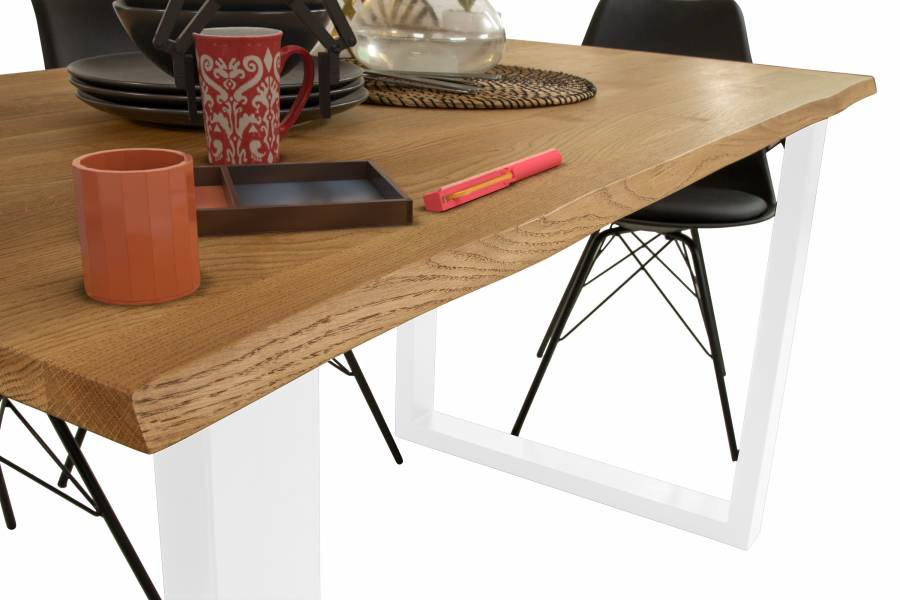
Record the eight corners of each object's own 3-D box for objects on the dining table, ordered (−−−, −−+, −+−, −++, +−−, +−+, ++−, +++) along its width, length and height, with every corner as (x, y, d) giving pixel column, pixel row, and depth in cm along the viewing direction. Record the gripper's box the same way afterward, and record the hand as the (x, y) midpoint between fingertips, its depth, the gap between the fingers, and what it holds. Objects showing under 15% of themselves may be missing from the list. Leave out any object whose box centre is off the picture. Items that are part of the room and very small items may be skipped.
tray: (95, 247, 77) (92, 215, 76) (101, 196, 91) (99, 169, 90) (412, 229, 84) (413, 199, 83) (372, 184, 98) (372, 159, 97)
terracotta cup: (83, 314, 64) (68, 174, 60) (88, 277, 70) (75, 149, 67) (203, 305, 66) (195, 169, 63) (197, 270, 72) (189, 146, 69)
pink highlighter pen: (410, 219, 89) (453, 211, 87) (404, 196, 89) (447, 187, 86) (536, 172, 108) (574, 164, 106) (531, 152, 108) (569, 144, 105)
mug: (214, 176, 100) (206, 36, 95) (188, 158, 107) (180, 27, 102) (332, 165, 106) (330, 33, 101) (300, 149, 113) (296, 25, 108)
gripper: (367, -98, 104) (370, 108, 112) (114, -103, 97) (135, 116, 105) (383, -99, 97) (385, 120, 105) (113, -105, 91) (135, 129, 98)
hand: (260, 118), depth 105 cm, fingers open, 13 cm apart
